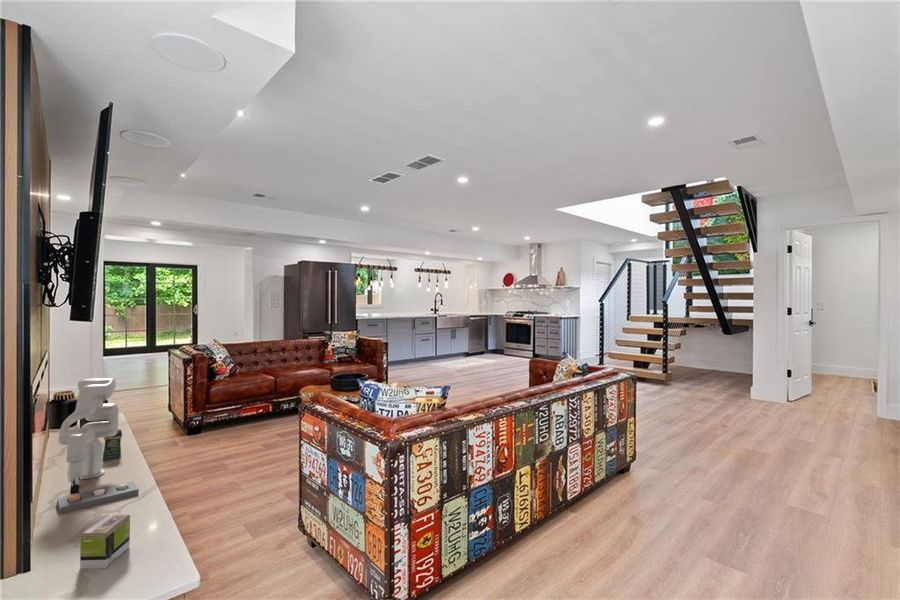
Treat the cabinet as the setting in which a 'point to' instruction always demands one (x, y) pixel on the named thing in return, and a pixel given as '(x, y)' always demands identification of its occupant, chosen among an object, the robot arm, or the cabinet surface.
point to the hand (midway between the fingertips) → (74, 493)
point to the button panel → (96, 497)
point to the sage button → (121, 487)
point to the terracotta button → (74, 498)
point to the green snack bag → (112, 446)
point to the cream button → (99, 492)
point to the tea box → (104, 541)
